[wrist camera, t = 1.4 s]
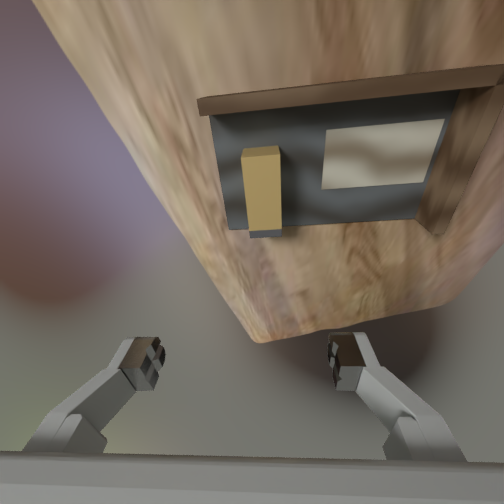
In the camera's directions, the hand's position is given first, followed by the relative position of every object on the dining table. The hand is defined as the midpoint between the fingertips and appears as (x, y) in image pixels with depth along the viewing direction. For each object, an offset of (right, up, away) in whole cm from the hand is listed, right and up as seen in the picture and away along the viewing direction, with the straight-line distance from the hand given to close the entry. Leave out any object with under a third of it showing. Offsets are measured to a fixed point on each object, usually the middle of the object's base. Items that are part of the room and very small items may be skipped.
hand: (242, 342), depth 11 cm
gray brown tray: (+11, +16, +20) cm, 28 cm away
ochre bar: (+2, +13, +22) cm, 26 cm away
